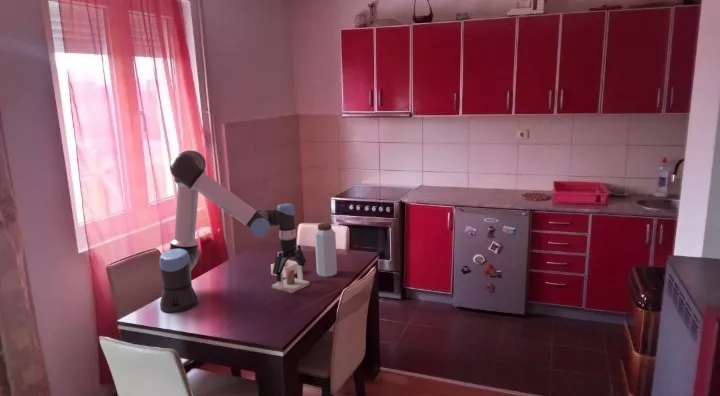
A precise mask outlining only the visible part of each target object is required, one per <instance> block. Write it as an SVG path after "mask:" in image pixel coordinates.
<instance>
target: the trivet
mask: <svg viewBox="0 0 720 396" xmlns="http://www.w3.org/2000/svg"><path fill="white" fill-rule="evenodd" d="M310 285H311V283H309V285H306V286H304V287H302V288H300V289H298V290H296V291H294V292H292V293H291V292H287V291H284V290H280V289H277V288H273V287H272V286H271V287H270V288H271V289H275V290H279V291H282V292H285V293H288V294H293V293H295V292H297V291H300V290H302V289H304V288H305V287H308V286H310Z"/></svg>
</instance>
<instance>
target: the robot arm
mask: <svg viewBox="0 0 720 396" xmlns="http://www.w3.org/2000/svg"><path fill="white" fill-rule="evenodd" d="M206 166H207V162H206V158H205V157H204V156H203V154H202V153H200V152H199V151H196V150H192V149H191V150H185V151H182V152H180V153H178V154H176V155H175V156H174V157H173V158H172V159H171V161H170V164H169V170H170V174H171V175H172V176H173V178H174V182H175V184H177V194H176V195H177V196H176V208H175V209H176V210H175V226H174V227H175V228H174V238H173V239H172V240H170V245H169V247H170V248H169V249H168V250H167V251H164V252H163V253H161V254H160V256H159V262H158V264H159V269H160V276H161V277H160V278H161V285H162V292H161V298H160V302H159V306H160V310H161V311H162V312H164V313H181V312H184V311H188V310H191V309H193V308H195V307H196V306H197V305H198V304H199V303H198V302H199V300H198V299H199V298H198V296H197V293H196V291H195V289H194V288H193V283H192V274H191V272H192V270H193V269H194V268H195V267H196V265H197V264H198V262H199V259H200V251H199V250H200V249H199V242H198V240H197V239H196V231H197V217H198V216H197V214H198V202H199V194H201V195H203V196H204V197H205V198H207V199H208V200H209V201H210V202H212V203H213V204H215V205H216V206H218V207H219V208H221V209H222V210H223V211H225V212H226V213H228V214H229V215H230V216H231V217H233V218H235V219H236V220H237V221H239V222H240V223H242V224H243V225H244V226H246V227H247V228H249V229H250V230H251V233H252V235H254V236H256V237H265V236H266V235H267V234H268V232H269V231H270V230H271V227H278V237H279V247H280V251H275V261H274V263H275V264H274V263H273V264H274V268H273V274H276V275H277V276H276V282H278V287H279V288H282V289H283V288H284V285H283V280H284V278H283V274H281V273H282V271H283V268H284V266H285V263H286V261H287V260H290V259H291V258H292V259H293V261H296V262H297V264H298V265H297V274H296V275H297V279H301V280H304V275H303V272H304V266H305V264H306V263H307V262H306V258H305V255H304V253H303V250H302V246H301V244H298V243H297V238H296V237H297V232H296V231H297V230H296V213H295V212H296V210H295V206H294V204H292V203H286V202H285V203H280V204H277V205H276V208H275V209H255V208H254V207H252V206H250V205H249V204H248V203H247V202H245V201H244V200H242V199H241V198H240V197H239V196H237V195H235V194H234V193H233V192H231V191H230V190H229V189H227V188H226V187H224V186H223V185H222V184H221V183H219V182H218V181H217V180H215V179H214V178H212V177H210V176H209V175H207V170H206Z"/></svg>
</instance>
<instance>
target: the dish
mask: <svg viewBox="0 0 720 396" xmlns="http://www.w3.org/2000/svg"><path fill="white" fill-rule="evenodd" d="M274 264H275V262H274V263H272V264H270V275H272V276H275V277H277V275H276V274H273V268H274ZM297 265H298V264H297V262H296V261H295V260H290V259H288V260H287V261H286V263H285V266H284V268H283V271H282V273H281V274H283V279H287V278H286V270H290V269H292V270H294V276H295V275H297Z"/></svg>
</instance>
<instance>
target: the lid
mask: <svg viewBox="0 0 720 396" xmlns="http://www.w3.org/2000/svg"><path fill="white" fill-rule="evenodd" d="M309 284H310V281H309V280H304V279H303V280H301V279H298V277H297V278H296V277H295V275H294V270H292V269H290V270H286V278H283V285H284V288H283V289H282V288H279V287H278V281H276V282H275V283H273V284H272V285H271V287H273V288H272V289H274V288H277V289H276V290H278V289H280V290H279V291H281V290H284V291H283V292H285V291H287V292H286V293H288V292H291V293H290V294H293V293H295V292H297V291H299V290H301V289H300V288H302V287H304V286H306V285H308V286H310V285H309ZM306 287H307V286H306ZM304 288H305V287H304ZM298 289H299V290H298ZM302 289H303V288H302ZM296 290H297V291H296ZM294 291H295V292H294ZM292 292H293V293H292Z"/></svg>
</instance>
